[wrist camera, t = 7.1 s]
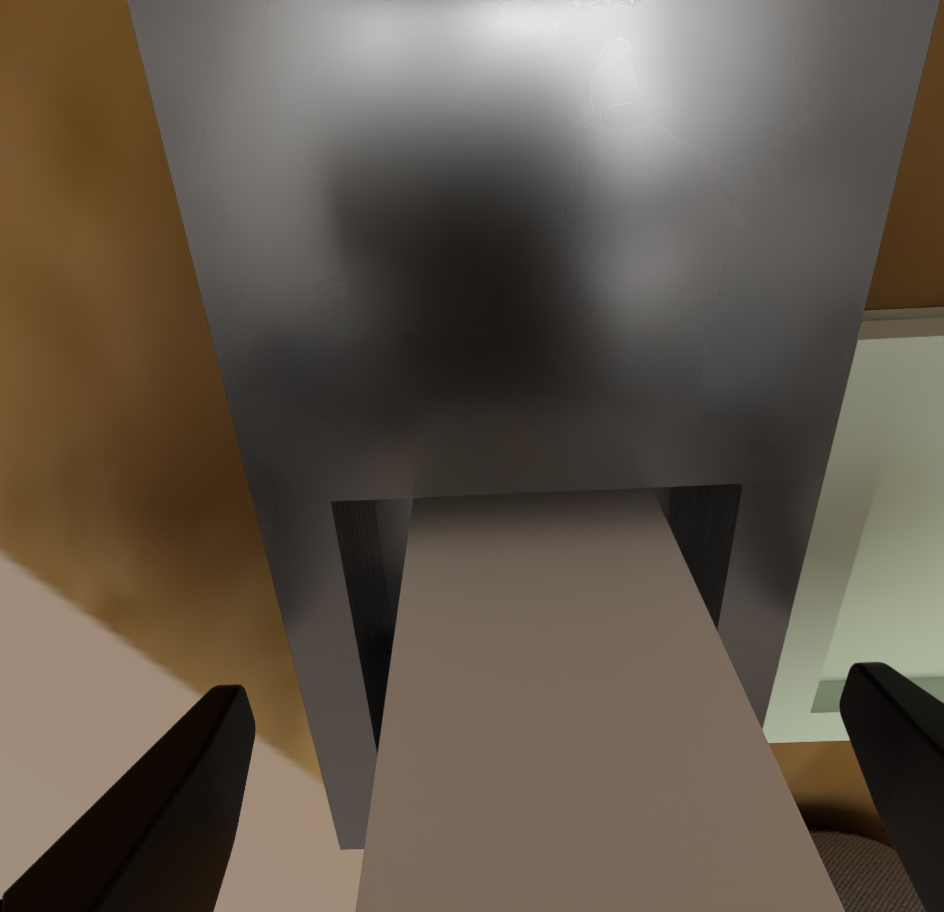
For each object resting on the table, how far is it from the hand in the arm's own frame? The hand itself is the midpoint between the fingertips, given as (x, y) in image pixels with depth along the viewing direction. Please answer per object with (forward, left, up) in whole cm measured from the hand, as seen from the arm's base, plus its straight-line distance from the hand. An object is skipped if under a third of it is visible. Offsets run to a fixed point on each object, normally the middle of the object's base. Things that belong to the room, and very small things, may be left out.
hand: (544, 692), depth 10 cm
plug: (0, 0, -4) cm, 4 cm away
